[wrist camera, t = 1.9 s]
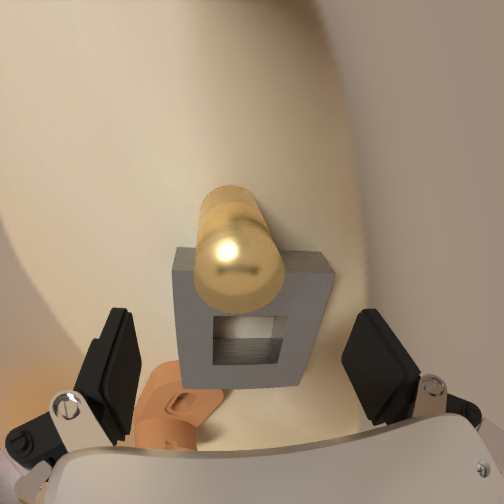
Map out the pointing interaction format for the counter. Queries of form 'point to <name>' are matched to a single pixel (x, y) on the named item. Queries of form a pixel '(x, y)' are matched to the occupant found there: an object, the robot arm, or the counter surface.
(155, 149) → the counter surface
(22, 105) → the counter surface
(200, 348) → the plate
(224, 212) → the gold rounded cylinder
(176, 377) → the bracket
